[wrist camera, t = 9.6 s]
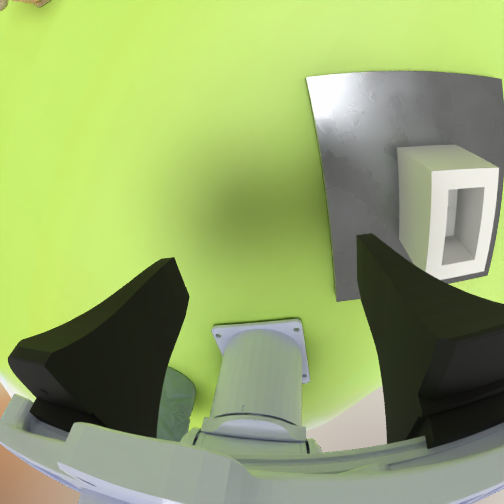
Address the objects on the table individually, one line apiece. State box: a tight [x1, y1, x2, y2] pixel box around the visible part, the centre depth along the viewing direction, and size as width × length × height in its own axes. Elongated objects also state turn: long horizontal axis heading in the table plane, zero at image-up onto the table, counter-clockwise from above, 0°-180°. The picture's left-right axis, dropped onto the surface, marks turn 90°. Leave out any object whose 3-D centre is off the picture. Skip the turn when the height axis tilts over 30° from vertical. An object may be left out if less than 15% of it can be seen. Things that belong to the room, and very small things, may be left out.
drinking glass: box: [157, 366, 196, 442], centre depth 28 cm, size 10×10×12 cm
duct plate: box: [305, 71, 504, 302], centre depth 16 cm, size 16×14×4 cm
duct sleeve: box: [397, 145, 499, 280], centre depth 15 cm, size 6×4×5 cm
